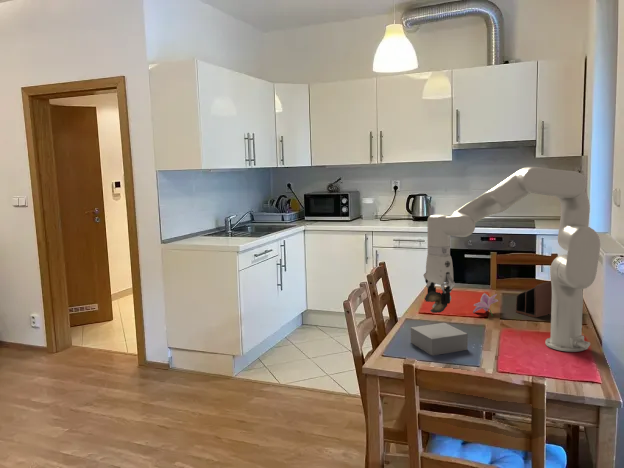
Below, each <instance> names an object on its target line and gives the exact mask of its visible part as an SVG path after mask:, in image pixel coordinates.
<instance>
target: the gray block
mask: <svg viewBox="0 0 624 468" xmlns="http://www.w3.org/2000/svg"><path fill="white" fill-rule="evenodd" d="M468 335H469V334H468V332H465V331H463V330H461V329H458V327H457V328H456V327H454V326H452V325H450V324H449V323H446V322H440V323H434V324H433V323H432V324H426V325H418V326H411V327H410V343H411V344H412V345H414V346H416V347H417V348H419V349H420V350H422V351H423V352H426V353H427V354H428V355H430V356H438V355H442V354H443V355H444V354H449V353H456V352H462V351H468V343H469V342H468V338H469V337H468Z"/></svg>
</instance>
